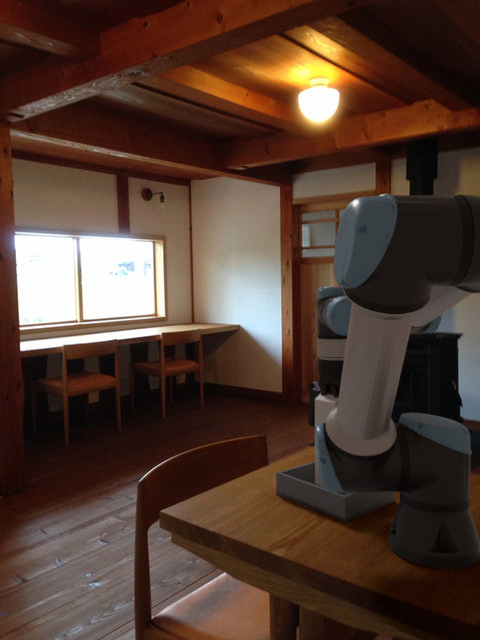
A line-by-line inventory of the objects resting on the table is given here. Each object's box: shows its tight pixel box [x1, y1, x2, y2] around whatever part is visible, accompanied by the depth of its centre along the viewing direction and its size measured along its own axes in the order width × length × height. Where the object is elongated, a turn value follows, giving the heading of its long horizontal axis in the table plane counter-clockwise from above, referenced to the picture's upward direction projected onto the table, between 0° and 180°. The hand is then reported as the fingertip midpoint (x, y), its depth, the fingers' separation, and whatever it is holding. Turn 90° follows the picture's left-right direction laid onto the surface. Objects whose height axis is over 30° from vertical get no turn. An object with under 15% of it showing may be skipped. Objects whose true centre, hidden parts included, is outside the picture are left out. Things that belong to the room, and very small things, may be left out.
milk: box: [314, 394, 339, 487], centre depth 120 cm, size 6×6×22 cm
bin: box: [275, 460, 396, 523], centre depth 121 cm, size 20×17×5 cm
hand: (334, 462), depth 121 cm, fingers closed on milk, 6 cm apart
